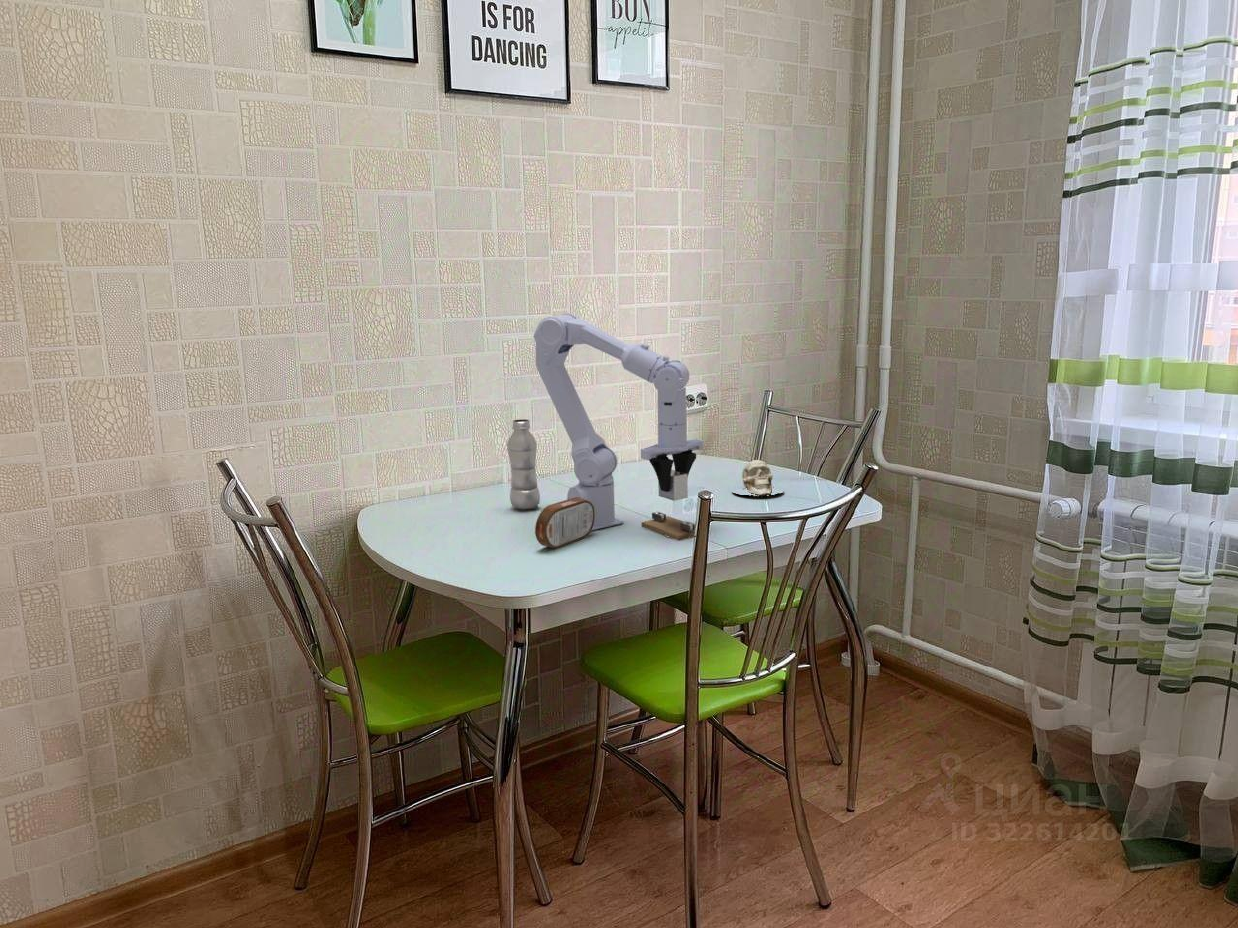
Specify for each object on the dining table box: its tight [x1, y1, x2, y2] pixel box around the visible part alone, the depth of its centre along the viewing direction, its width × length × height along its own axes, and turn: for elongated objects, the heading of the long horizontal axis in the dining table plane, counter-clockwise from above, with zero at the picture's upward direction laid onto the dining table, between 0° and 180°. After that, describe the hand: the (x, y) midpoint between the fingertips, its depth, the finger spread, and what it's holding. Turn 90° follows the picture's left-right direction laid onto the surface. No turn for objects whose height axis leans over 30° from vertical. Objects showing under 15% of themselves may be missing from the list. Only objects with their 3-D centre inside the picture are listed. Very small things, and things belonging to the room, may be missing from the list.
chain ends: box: [651, 511, 696, 532], centre depth 187 cm, size 2×12×2 cm, turn 35°
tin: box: [534, 497, 595, 549], centre depth 180 cm, size 15×3×8 cm, turn 141°
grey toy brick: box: [657, 469, 689, 502], centre depth 186 cm, size 4×5×6 cm
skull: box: [741, 459, 773, 497], centre depth 214 cm, size 12×12×8 cm
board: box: [641, 515, 697, 541], centre depth 187 cm, size 7×12×1 cm, turn 35°
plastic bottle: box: [506, 418, 541, 511], centre depth 203 cm, size 6×7×20 cm
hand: (672, 489), depth 186 cm, fingers closed on grey toy brick, 3 cm apart
